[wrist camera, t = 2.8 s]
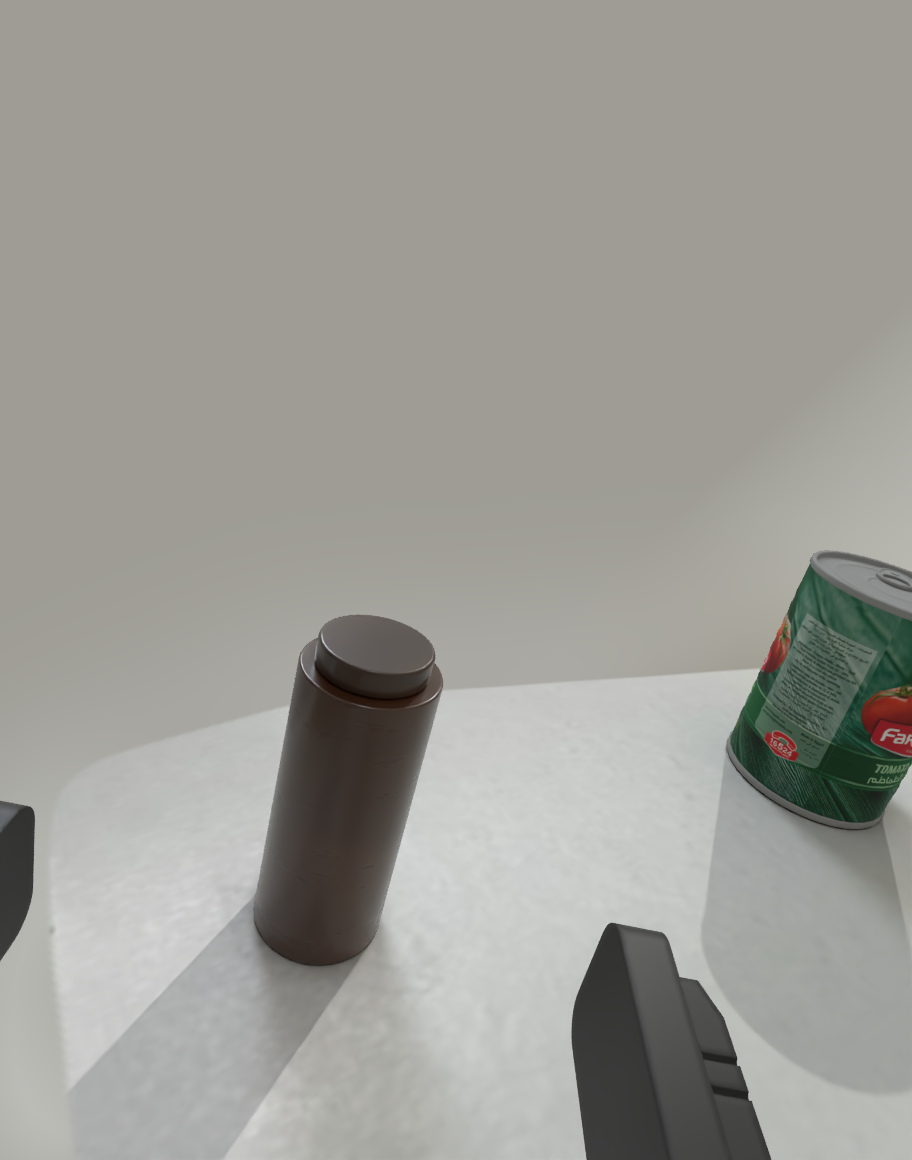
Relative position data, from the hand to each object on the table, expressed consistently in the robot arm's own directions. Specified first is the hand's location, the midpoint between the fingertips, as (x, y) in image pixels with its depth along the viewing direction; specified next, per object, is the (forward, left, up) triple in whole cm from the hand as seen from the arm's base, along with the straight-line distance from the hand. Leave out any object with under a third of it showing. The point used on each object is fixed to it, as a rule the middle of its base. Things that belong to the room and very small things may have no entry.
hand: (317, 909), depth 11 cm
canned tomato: (+7, +33, -11) cm, 35 cm away
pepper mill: (-5, +9, -11) cm, 15 cm away
